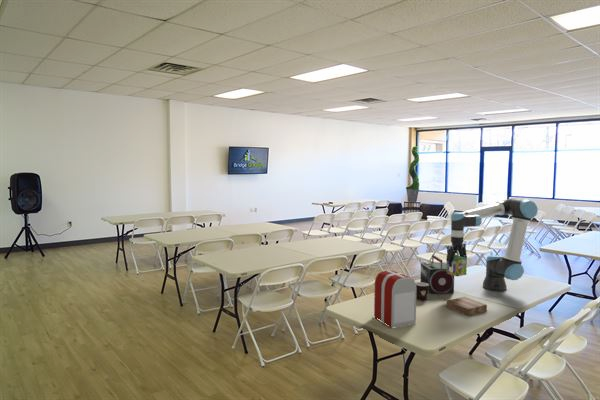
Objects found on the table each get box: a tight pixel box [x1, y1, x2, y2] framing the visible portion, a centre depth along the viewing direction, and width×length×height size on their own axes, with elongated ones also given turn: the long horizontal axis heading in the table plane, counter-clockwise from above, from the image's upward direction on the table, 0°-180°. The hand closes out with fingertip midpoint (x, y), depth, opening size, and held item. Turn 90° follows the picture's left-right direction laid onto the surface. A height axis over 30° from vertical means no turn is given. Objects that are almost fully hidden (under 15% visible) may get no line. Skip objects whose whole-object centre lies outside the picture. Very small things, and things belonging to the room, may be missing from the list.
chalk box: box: [446, 251, 468, 277], centre depth 256 cm, size 9×9×15 cm
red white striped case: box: [373, 269, 417, 329], centre depth 220 cm, size 16×18×27 cm
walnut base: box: [445, 296, 488, 317], centre depth 238 cm, size 16×16×4 cm
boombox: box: [419, 245, 457, 295], centre depth 274 cm, size 18×21×30 cm
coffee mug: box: [415, 281, 429, 302], centre depth 256 cm, size 12×9×10 cm
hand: (456, 270), depth 257 cm, fingers closed on chalk box, 9 cm apart
